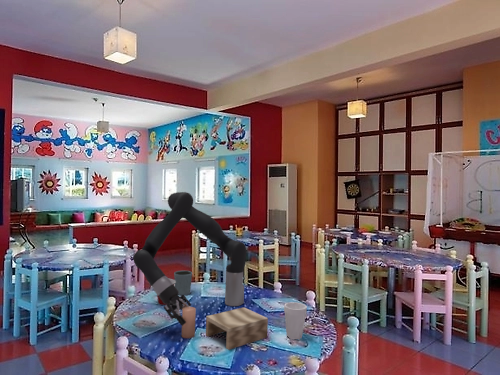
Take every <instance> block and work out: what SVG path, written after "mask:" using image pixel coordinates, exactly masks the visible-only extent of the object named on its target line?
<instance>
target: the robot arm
mask: <svg viewBox="0 0 500 375" xmlns="http://www.w3.org/2000/svg"><path fill="white" fill-rule="evenodd" d="M167 204H168V207H169V208H170V209H171V210H170V211H169V213H168V214H167V215H166V216H165V217H164V218H163V219H162V220H161V221H160V222H158V224H156V225H155V227H154V228H153V229H152V230H151V231H150V233H149V235H148V236H147V238H146V239H145V242H144V245H143V247H142V248H141V249H139V250H137V251H135V253H134V254H133V259H132V260H133V263H134V265H135V267H136V268H138V269H139V270H140V271H141V272H142V273H143V275H144V277H145V279H146V281H147V282H148V283H149V285H150V286H151V287H152V288H153V291H154V293H155V294H156V295H158V296H159V298H160V299H161V300H162V302H163V303H164V304H166V303H167V305H163V309H164V310H165V312H166V313H167V315H168V316H169V318H170V319H171V320H177V322H178V323H179V324H180V326H181V327H182V326H183V325H184V324H185V323H186V321H185V320H184V319H183V317H182V315H181V313H180V310H182V309H183V308H184V307H192V303H191V302H190V301H189V299H188V298H187V297H186V295H185V296H184V295H182V296H180V295H178V293H179V291H178V290H177V289H176V287H175V284H174V285H173V284H172V282H171V281H170V280H169V279H170V278H169V279H168V276H166V274H165V273H164V272H163V270H162V269H161V268H160V266H158V265H157V264H158V263H156V261H155V256H156V255H157V253H158V251H159V250H160V248H161V247H162V245H163V244H164V242H165V241H166V240H167V238H168V237H169V235H170V234H171V232H172V231H173V229H174V228H175V227H176V225H177V224H178V223H179V222H180V221H181V220H182V218H183V219H185V220H186V221H187V222H189V224H190V225H192V227H194V229H196V230H198V232H200V233H201V234H202V235H203V236H204V237H205V238H206V239H208V240H209V241H210V242H212V243H213V244H214V245H216V246H217V247H218V248H219V250H221V251H222V253H224V254H225V255H226V256H227V257H229V258H231V262H230V263H229V264H227V265H226V267H225V269H226V270H225V287H224V288H225V290H224V292H225V293H224V295H225V296H224V304H225V305H226V306H230V307H238V306H241V305H243V304H245V285H244V268H245V266H246V259H247V246H246V244H245V243H244V242H242V241H237V240H234V239H232V238H230V237H229V236H228V235H227V234H226V233H225V232H224V230H223V228H222V227H221V225H220V224H219V223H218V221H216V220H215V219H214V218H213V217H212V216H210V215H208V214H207V213H206V212H203V211H201V210H200V209H197V208H195V207H194V206H193V204H194V198H193V195H192V194H191V193H189V192H186V191H182V192H181V191H179V192H173V193H171V194H170V195H169V196H168V197H167Z"/></svg>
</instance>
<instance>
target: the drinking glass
mask: <svg viewBox="0 0 500 375" xmlns="http://www.w3.org/2000/svg"><path fill="white" fill-rule="evenodd" d="M173 277H174V278H173V280H175V281H176V283H175V284H174V286H175V287H176V289H177V290H178V291H179V293H178V296H179V297H180V296H182V295H184V296H185V297H186V296H188V295H190V294H191V285H192V278H193V272H192V271H190V270H177V271H174V273H173Z"/></svg>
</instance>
